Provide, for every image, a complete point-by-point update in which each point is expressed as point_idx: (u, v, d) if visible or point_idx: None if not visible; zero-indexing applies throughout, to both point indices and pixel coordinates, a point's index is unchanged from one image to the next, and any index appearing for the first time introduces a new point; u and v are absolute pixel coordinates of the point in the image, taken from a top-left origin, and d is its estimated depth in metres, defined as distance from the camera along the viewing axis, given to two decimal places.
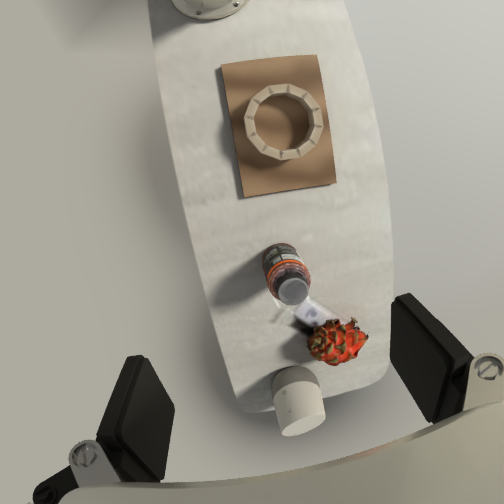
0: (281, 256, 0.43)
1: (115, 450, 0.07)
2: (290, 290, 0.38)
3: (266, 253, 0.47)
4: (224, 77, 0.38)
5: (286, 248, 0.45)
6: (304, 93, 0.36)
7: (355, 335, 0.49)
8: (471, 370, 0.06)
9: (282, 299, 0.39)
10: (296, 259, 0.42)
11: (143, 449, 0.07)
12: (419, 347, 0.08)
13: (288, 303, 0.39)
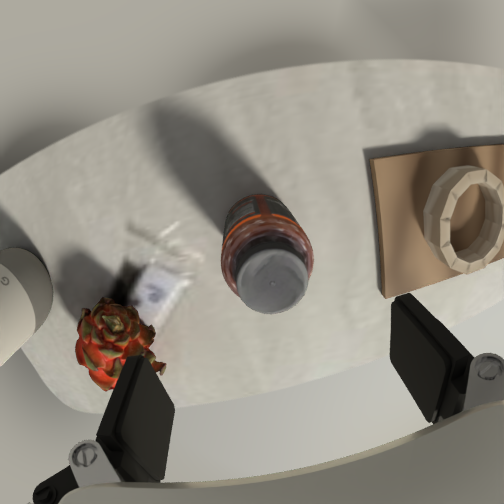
0: None
1: (115, 450, 0.07)
2: (278, 276, 0.16)
3: (279, 201, 0.25)
4: (503, 146, 0.24)
5: None
6: (498, 246, 0.24)
7: None
8: (471, 370, 0.06)
9: (253, 261, 0.16)
10: None
11: (143, 449, 0.07)
12: (419, 347, 0.08)
13: (242, 276, 0.16)
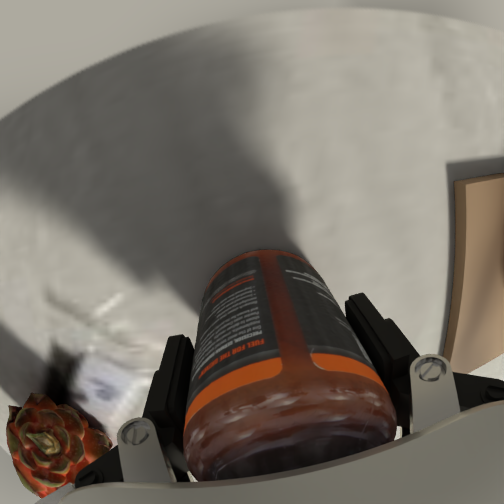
0: None
1: (165, 426, 0.08)
2: None
3: (306, 266, 0.12)
4: None
5: None
6: None
7: None
8: (411, 370, 0.07)
9: None
10: None
11: None
12: (366, 345, 0.09)
13: None
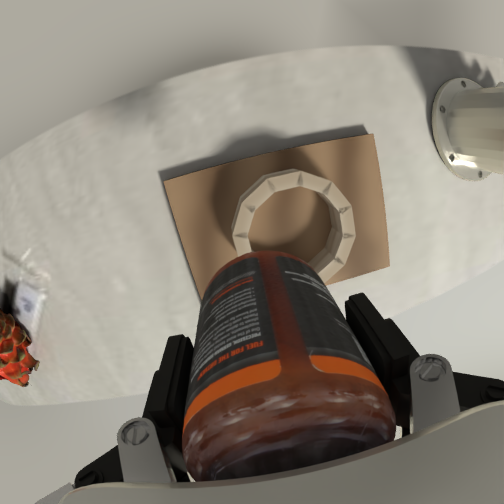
0: None
1: (165, 426, 0.08)
2: None
3: (306, 267, 0.12)
4: (354, 138, 0.26)
5: None
6: (341, 260, 0.27)
7: (19, 374, 0.26)
8: (411, 370, 0.07)
9: None
10: None
11: None
12: (366, 345, 0.09)
13: None
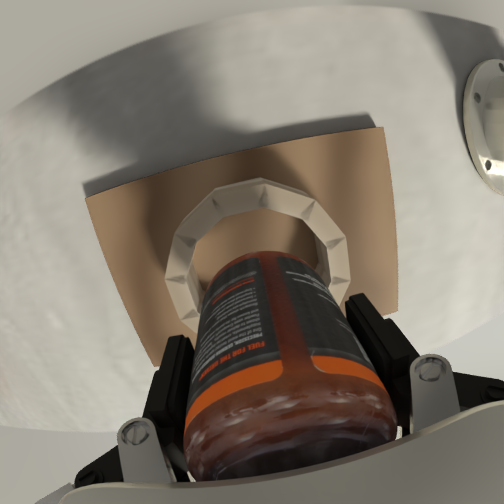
0: None
1: (165, 426, 0.08)
2: None
3: (307, 268, 0.12)
4: (355, 133, 0.17)
5: None
6: None
7: None
8: (411, 370, 0.07)
9: None
10: None
11: None
12: (366, 345, 0.09)
13: None
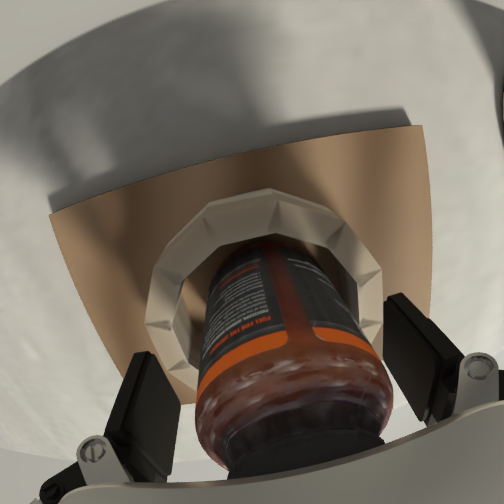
0: None
1: (123, 445, 0.07)
2: None
3: (307, 256, 0.13)
4: (390, 132, 0.13)
5: None
6: None
7: None
8: (461, 369, 0.06)
9: None
10: None
11: (151, 444, 0.08)
12: (410, 346, 0.08)
13: None
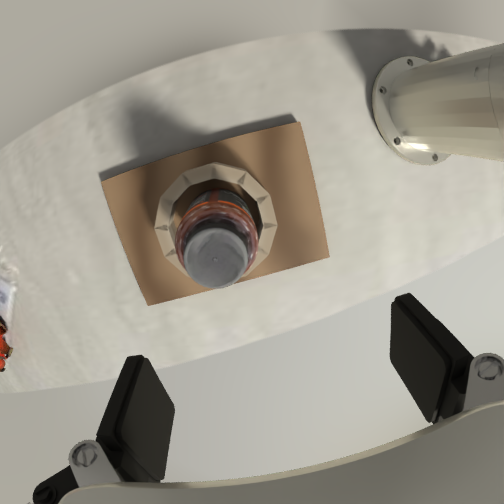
0: None
1: (115, 450, 0.07)
2: (219, 253, 0.18)
3: (234, 192, 0.27)
4: (279, 128, 0.27)
5: None
6: (264, 250, 0.27)
7: None
8: (471, 370, 0.06)
9: (196, 240, 0.18)
10: None
11: (143, 449, 0.07)
12: (419, 347, 0.08)
13: (187, 254, 0.18)
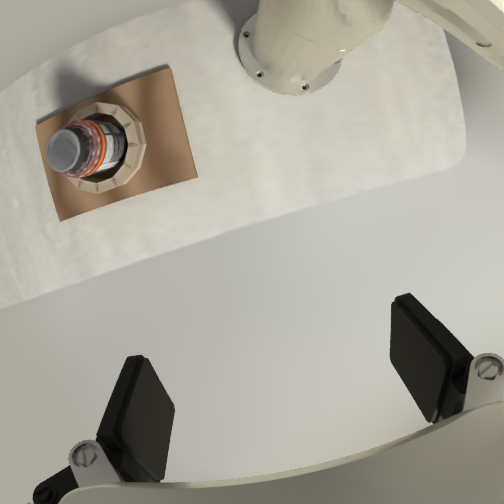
0: (109, 135, 0.27)
1: (115, 450, 0.07)
2: (63, 145, 0.22)
3: (113, 123, 0.30)
4: (153, 74, 0.30)
5: (120, 144, 0.30)
6: (130, 164, 0.31)
7: None
8: (471, 370, 0.06)
9: (52, 138, 0.21)
10: (106, 154, 0.27)
11: (143, 449, 0.07)
12: (419, 347, 0.08)
13: (47, 148, 0.22)
